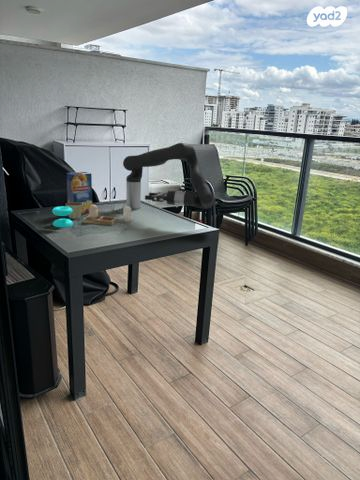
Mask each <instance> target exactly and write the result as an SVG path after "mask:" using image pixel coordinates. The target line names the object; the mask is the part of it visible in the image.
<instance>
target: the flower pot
mask: <svg viewBox="0 0 360 480" xmlns="http://www.w3.org/2000/svg"><path fill="white" fill-rule="evenodd" d="M82 205H83V203H79V202H70V203H68V202H66V203H65V206H66V207H70V208H72V213H71V214H70V215H68V219H74V220H75V219H80V218H81V217H82V216H81V215H82V214H81V209H82Z"/></svg>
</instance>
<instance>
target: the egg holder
mask: <svg viewBox="0 0 360 480" xmlns="http://www.w3.org/2000/svg"><path fill="white" fill-rule="evenodd" d="M117 222H118V217H116V216H107V215H106V216H103V215H98V219H97V220H95V219H89V214H88V215H87V216H85V217H83V218H82V224H83V223H85V224H95V225H102V226H103V225H104V226H105V225H106V226H113V225H115V224H116V223H117Z"/></svg>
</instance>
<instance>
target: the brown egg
mask: <svg viewBox="0 0 360 480" xmlns="http://www.w3.org/2000/svg"><path fill="white" fill-rule="evenodd" d="M88 215H89V219H95V220H97V219H98V216H99V208H98V206H97V205H96V204H94V203H92V205H90V207H89V212H88Z"/></svg>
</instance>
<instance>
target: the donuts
mask: <svg viewBox="0 0 360 480" xmlns="http://www.w3.org/2000/svg"><path fill="white" fill-rule="evenodd" d="M71 213H72V208H70V207H67V206H66V205H65V206H63V205H62V206H56V207H53V209H52V214H53V215H55V216H58V217H59V216H60V217H67V216H69V215H70V214H71ZM52 225H53V227H56V228H69V227H72V226H73V225H74V222H73V221H72V220H71V219H70V218H58V219H55V220H54V221H53V223H52Z"/></svg>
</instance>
